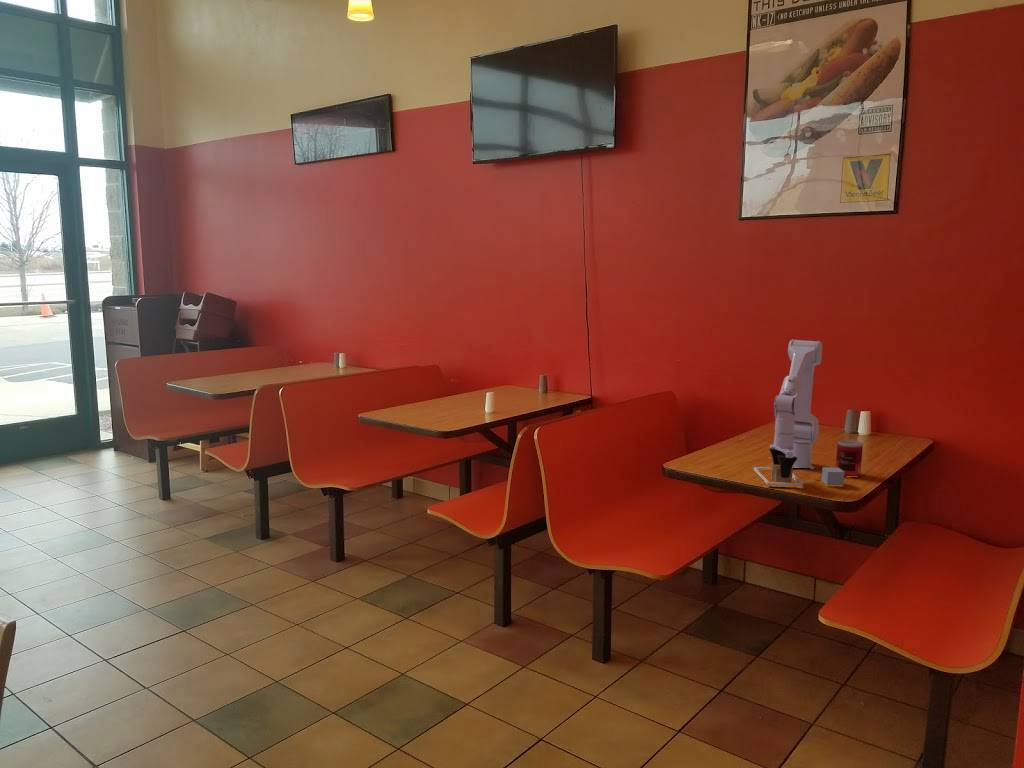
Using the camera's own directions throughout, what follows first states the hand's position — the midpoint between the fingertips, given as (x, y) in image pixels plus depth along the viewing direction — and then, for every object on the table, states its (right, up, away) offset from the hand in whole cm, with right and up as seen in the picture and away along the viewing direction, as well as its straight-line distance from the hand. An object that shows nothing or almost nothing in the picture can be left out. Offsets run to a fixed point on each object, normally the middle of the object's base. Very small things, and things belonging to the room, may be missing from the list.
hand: (781, 474), depth 246 cm
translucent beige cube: (0, -3, 0) cm, 3 cm away
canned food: (+26, -2, +11) cm, 28 cm away
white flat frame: (0, -2, +4) cm, 5 cm away
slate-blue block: (+16, -3, 0) cm, 16 cm away
